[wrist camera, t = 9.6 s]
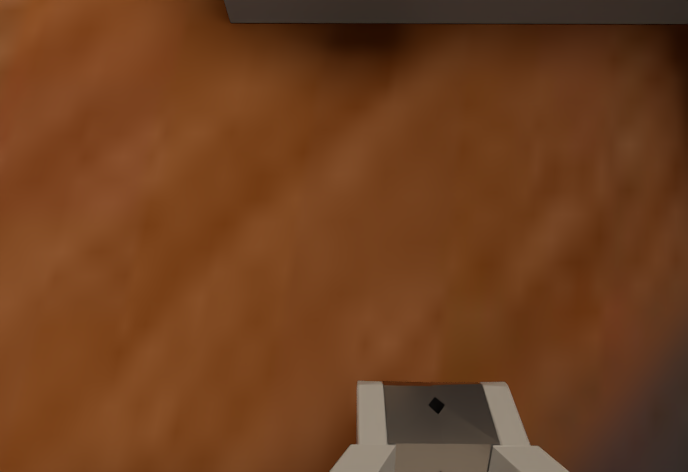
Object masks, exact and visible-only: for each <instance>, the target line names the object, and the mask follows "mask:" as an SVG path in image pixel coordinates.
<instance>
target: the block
mask: <svg viewBox="0 0 688 472" xmlns="http://www.w3.org/2000/svg"><path fill="white" fill-rule="evenodd" d="M224 2H225V6H226V9H227V12H228V16H229V19H230V22H231V23H483V24H688V0H224Z"/></svg>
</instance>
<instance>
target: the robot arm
mask: <svg viewBox="0 0 688 472" xmlns="http://www.w3.org/2000/svg"><path fill="white" fill-rule="evenodd" d="M329 472H569V471H568V470H567V469H565V468H564V467H563V466H562V465H561V464H559V463H558V462H557V461H556V460H555V459H553V458H552V457H551V456H550V455H549V454H547V453H546V452H545V451H544V450H543V449H541V448H540V447H539V446H531V445H530V443H529V440H528V437H527V435H526V432H525V429H524V427H523V424H522V421H521V419H520V416H519V413H518V411H517V408H516V405H515V402H514V400H513V397H512V394H511V392H510V389H509V386H508V385H507V384H506V383H505V382H480V383H478V382H430V383H429V382H397V381H383V382H378V381H358V382H357V415H356V444H351V445H350V446H349V447H348V448H347V450H346V451H345V452H344V453H343V455H342V456H341V457H340V458H339V460H338V461H337V462H336V464H335V465H334V466H333V467H332V469H331V470H330V471H329Z"/></svg>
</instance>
